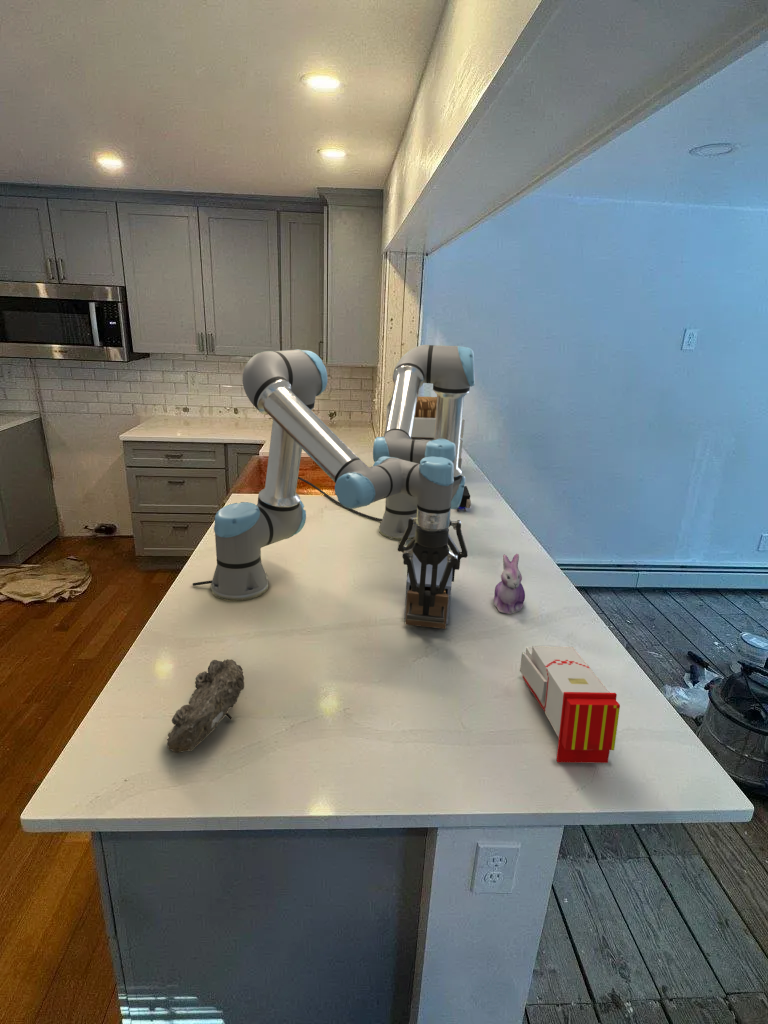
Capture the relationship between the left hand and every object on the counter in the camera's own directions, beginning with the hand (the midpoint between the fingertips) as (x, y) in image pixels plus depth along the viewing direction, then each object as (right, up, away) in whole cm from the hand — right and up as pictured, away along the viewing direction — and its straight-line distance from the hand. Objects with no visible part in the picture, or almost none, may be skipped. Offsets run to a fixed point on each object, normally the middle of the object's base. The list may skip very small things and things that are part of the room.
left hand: (425, 617), depth 136 cm
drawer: (+1, -2, +9) cm, 9 cm away
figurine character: (+21, +27, +93) cm, 99 cm away
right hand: (+3, +7, +17) cm, 19 cm away
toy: (+25, -15, -22) cm, 37 cm away
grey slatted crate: (+7, +44, +139) cm, 146 cm away
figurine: (+24, 0, +18) cm, 30 cm away
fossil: (-43, -14, -28) cm, 53 cm away
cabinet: (+2, 0, +16) cm, 16 cm away
